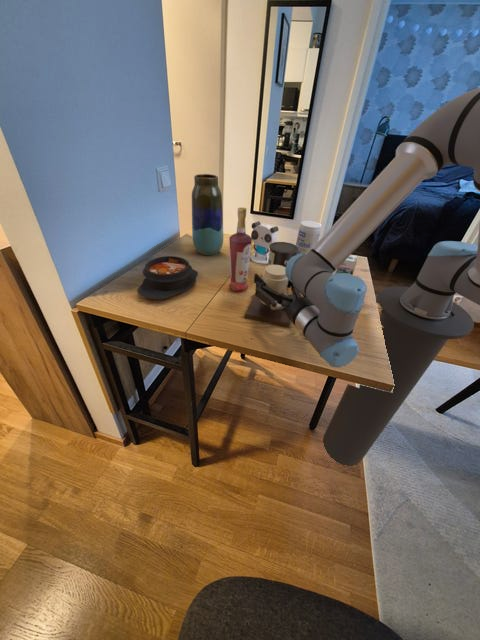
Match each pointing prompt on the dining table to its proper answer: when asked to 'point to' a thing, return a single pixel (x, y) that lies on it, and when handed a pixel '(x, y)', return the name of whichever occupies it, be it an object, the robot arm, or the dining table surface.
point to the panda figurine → (262, 241)
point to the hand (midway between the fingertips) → (267, 276)
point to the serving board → (266, 313)
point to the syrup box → (347, 265)
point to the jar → (275, 278)
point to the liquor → (239, 254)
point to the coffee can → (281, 253)
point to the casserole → (167, 277)
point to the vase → (207, 214)
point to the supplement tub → (308, 236)
